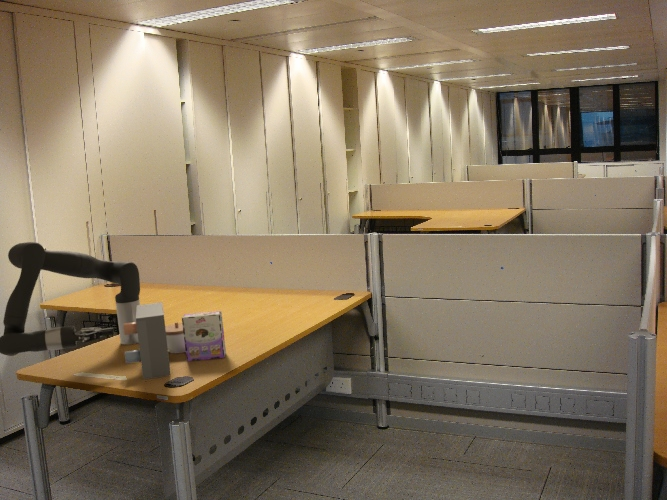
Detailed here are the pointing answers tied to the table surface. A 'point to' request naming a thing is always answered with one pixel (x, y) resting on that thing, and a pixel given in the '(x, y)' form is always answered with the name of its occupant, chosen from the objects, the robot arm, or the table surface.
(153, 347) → the console panel
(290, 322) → the table surface
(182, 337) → the lidded container
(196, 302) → the table surface
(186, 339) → the candy box
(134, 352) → the slate blue button
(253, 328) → the table surface
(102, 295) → the table surface
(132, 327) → the terracotta button
